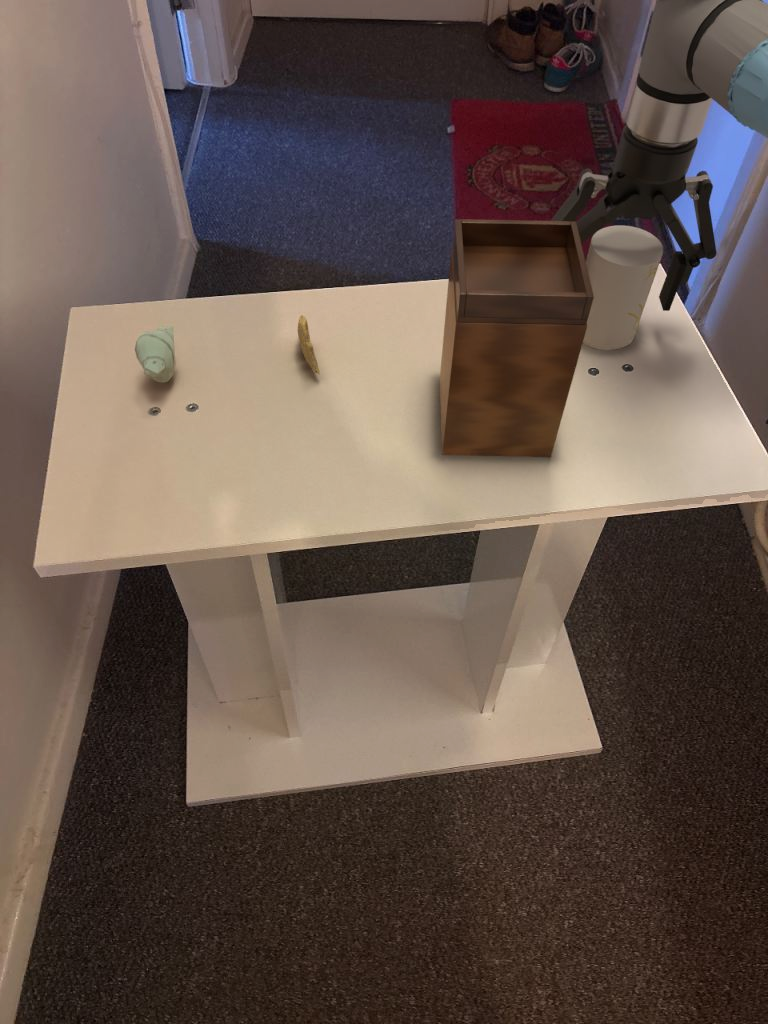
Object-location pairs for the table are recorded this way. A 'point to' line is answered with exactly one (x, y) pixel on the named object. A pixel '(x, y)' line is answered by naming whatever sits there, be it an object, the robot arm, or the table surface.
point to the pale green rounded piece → (157, 353)
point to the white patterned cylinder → (619, 283)
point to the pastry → (307, 344)
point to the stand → (504, 383)
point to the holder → (520, 272)
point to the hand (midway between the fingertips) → (608, 302)
